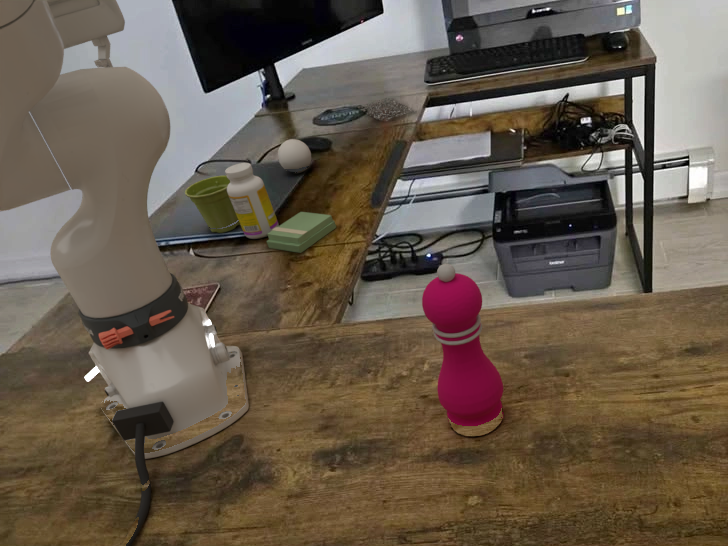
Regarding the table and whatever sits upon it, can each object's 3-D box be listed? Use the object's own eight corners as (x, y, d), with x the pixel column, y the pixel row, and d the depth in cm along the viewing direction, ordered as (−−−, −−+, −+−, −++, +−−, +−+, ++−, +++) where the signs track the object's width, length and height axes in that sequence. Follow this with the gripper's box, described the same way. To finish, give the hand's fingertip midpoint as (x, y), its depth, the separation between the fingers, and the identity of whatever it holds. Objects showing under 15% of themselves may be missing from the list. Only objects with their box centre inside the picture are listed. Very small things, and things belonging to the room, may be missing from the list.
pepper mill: (437, 411, 78) (399, 260, 67) (494, 390, 80) (466, 239, 68) (457, 450, 73) (419, 292, 61) (518, 426, 74) (493, 269, 62)
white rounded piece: (321, 169, 152) (312, 137, 147) (292, 181, 149) (281, 148, 144) (301, 161, 159) (291, 130, 154) (273, 172, 155) (262, 140, 151)
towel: (301, 253, 118) (296, 239, 117) (268, 248, 122) (263, 234, 121) (336, 227, 125) (332, 214, 123) (305, 223, 129) (300, 210, 127)
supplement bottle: (273, 220, 132) (250, 157, 124) (284, 231, 127) (261, 165, 120) (240, 233, 130) (215, 169, 122) (250, 243, 125) (224, 178, 117)
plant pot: (252, 228, 131) (236, 185, 125) (203, 242, 129) (185, 200, 123) (247, 211, 138) (232, 171, 133) (201, 225, 136) (184, 184, 131)
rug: (388, 99, 190) (388, 95, 190) (416, 112, 176) (415, 109, 175) (356, 108, 187) (355, 105, 187) (382, 123, 173) (381, 119, 172)
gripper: (-36, -10, 83) (26, 105, 91) (105, -42, 96) (148, 61, 104) (-61, -6, 86) (1, 104, 94) (80, -38, 99) (123, 61, 107)
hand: (79, 81), depth 99 cm, fingers open, 8 cm apart
